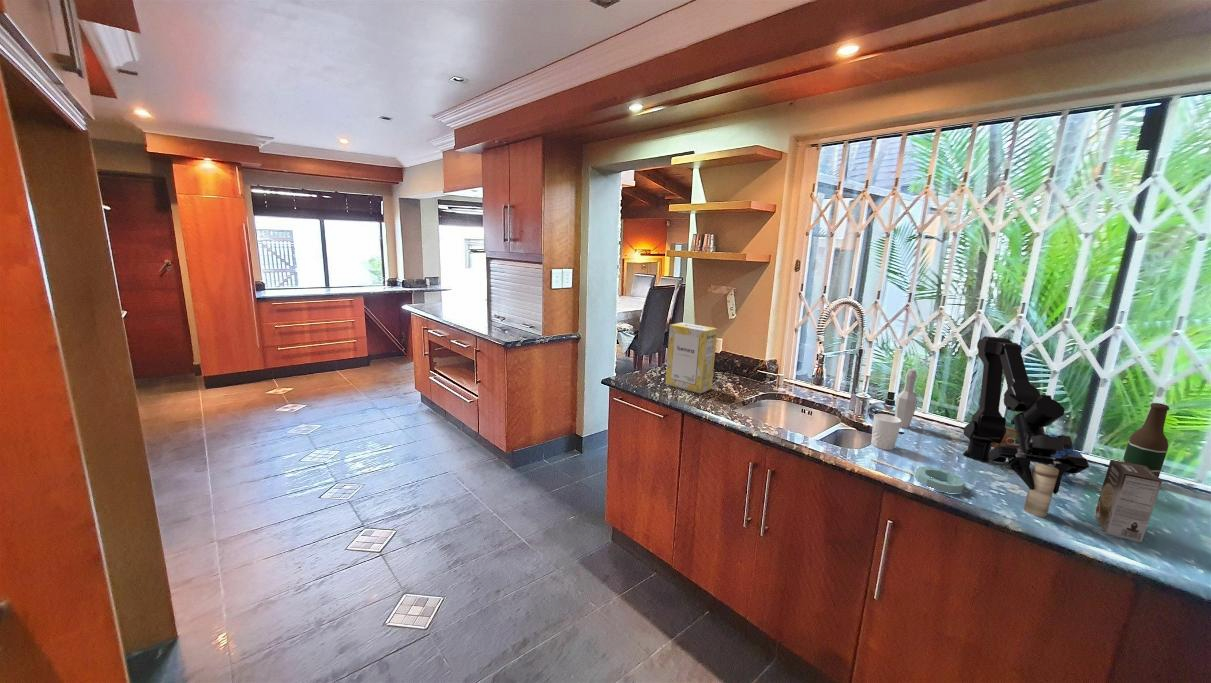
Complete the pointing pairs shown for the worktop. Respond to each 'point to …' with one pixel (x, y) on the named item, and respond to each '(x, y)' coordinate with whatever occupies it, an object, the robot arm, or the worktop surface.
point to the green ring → (952, 480)
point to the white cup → (885, 431)
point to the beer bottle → (1149, 441)
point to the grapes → (1066, 451)
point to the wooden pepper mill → (1041, 490)
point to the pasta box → (691, 357)
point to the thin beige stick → (892, 466)
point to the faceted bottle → (906, 400)
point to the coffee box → (1127, 500)
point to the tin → (1008, 439)
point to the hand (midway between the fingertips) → (1044, 491)
